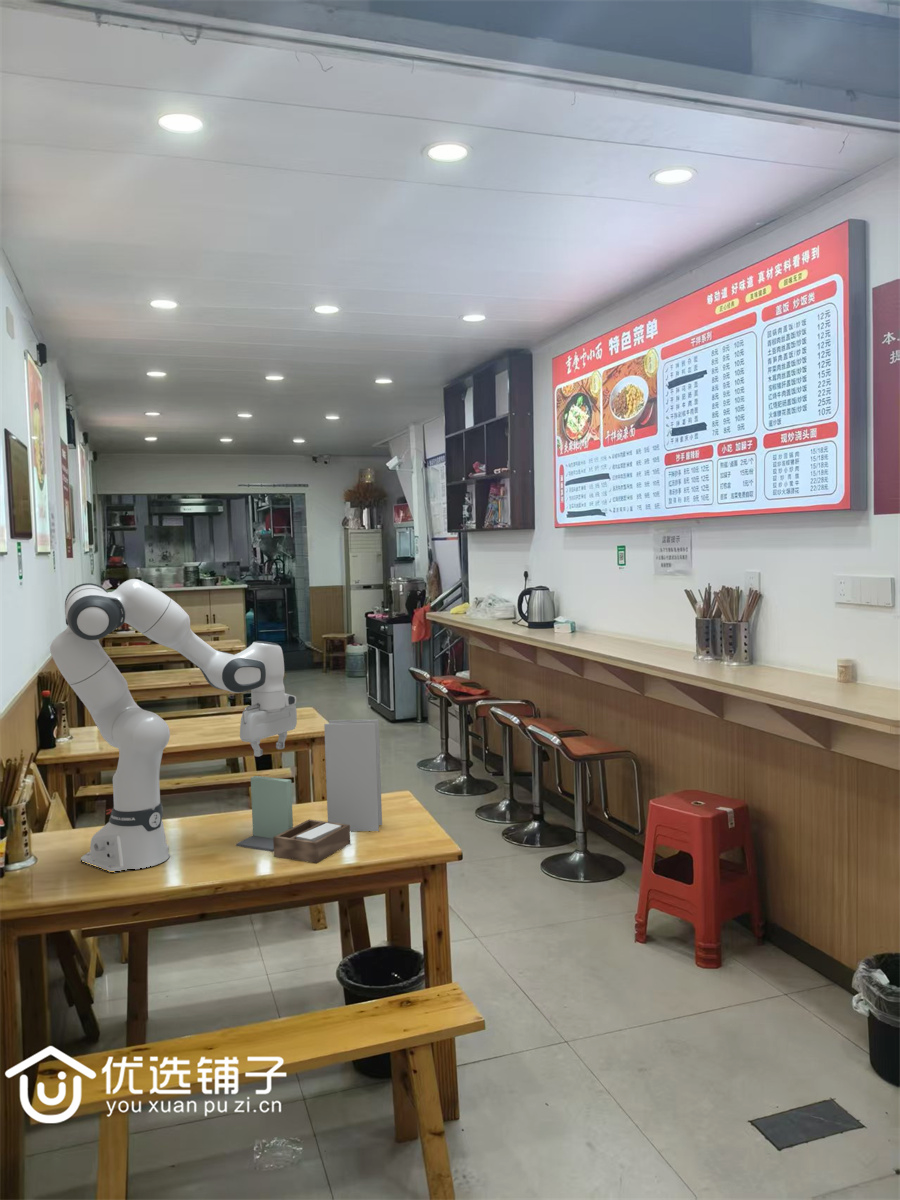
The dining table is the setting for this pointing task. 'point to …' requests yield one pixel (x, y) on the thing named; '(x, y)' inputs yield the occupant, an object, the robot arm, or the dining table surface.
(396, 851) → the dining table surface
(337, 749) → the brochure
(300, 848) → the rack
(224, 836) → the dining table surface
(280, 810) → the block
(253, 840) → the mat
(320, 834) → the offcut upper
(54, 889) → the dining table surface
